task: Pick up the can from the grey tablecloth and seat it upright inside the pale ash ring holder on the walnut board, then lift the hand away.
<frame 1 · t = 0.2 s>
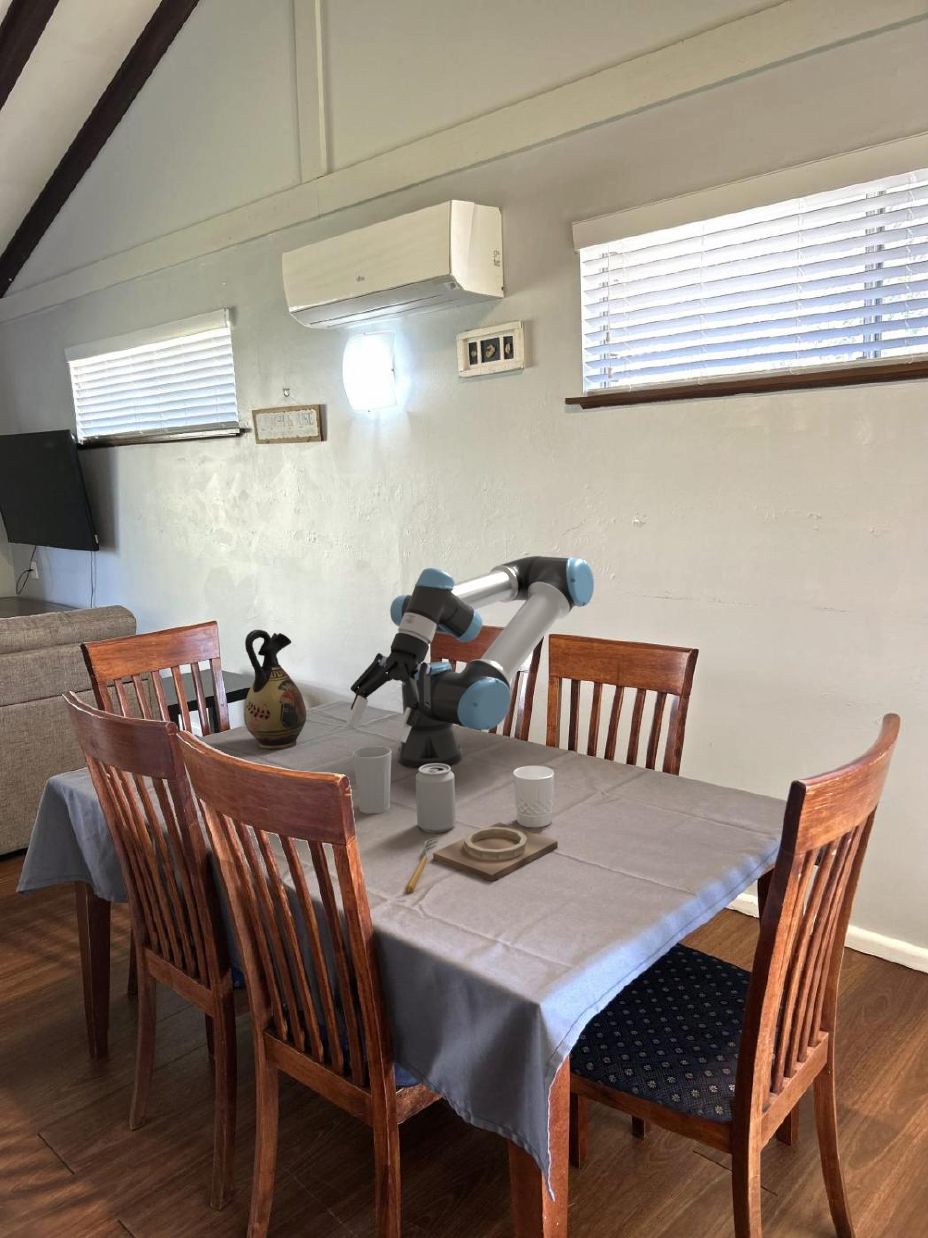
hand: (375, 733, 187), 16 cm above the table, tool tilted 35°, fingers open, 13 cm apart
ring holder: (496, 853, 166), on the table
cup: (374, 808, 190), on the table
ceramic jug: (274, 745, 235), on the table
white cup: (534, 822, 180), on the table
fork: (422, 870, 162), on the table
can: (436, 827, 179), on the table
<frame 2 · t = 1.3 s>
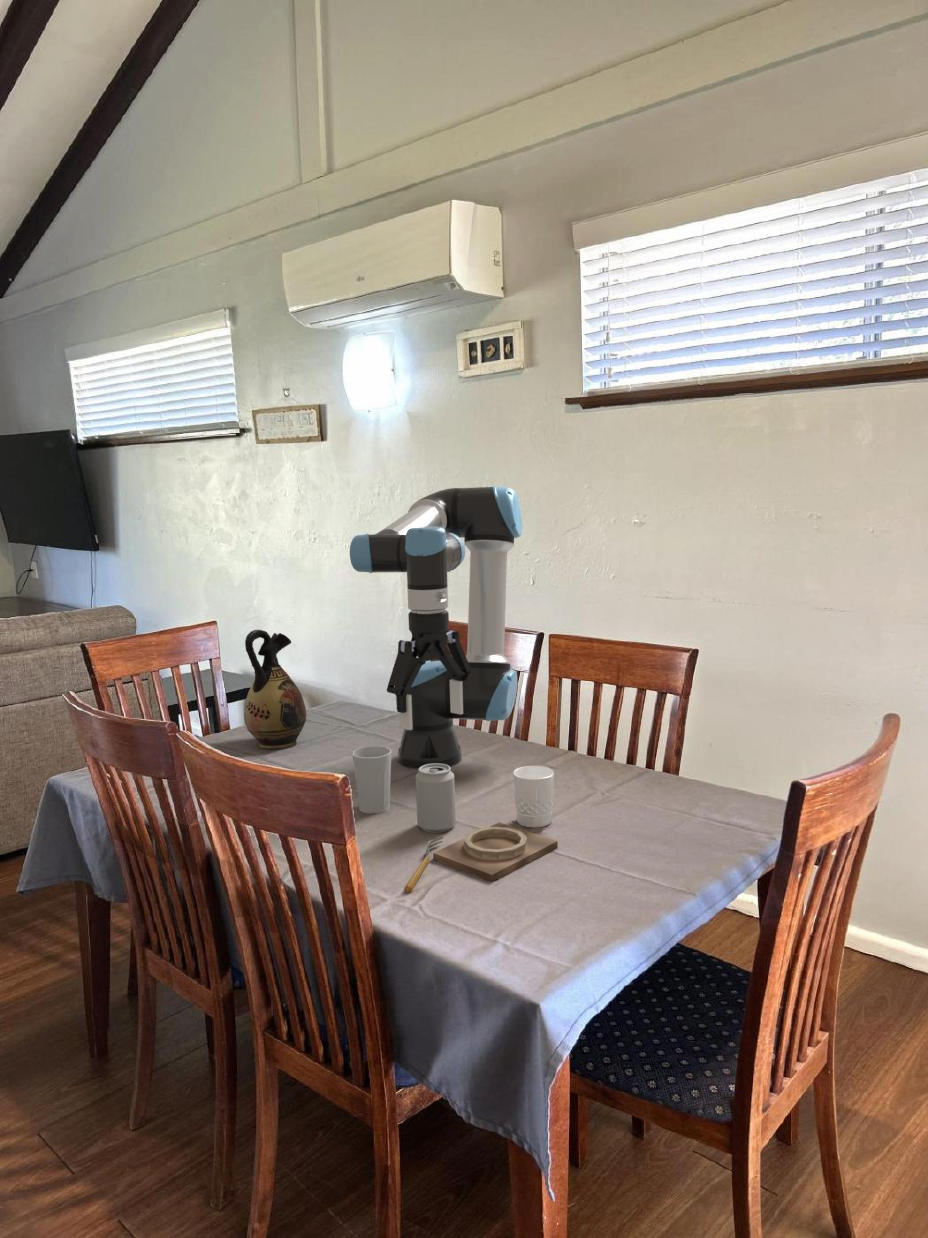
hand: (432, 720, 175), 21 cm above the table, tool pointing down, fingers open, 13 cm apart
nothing on the table moved.
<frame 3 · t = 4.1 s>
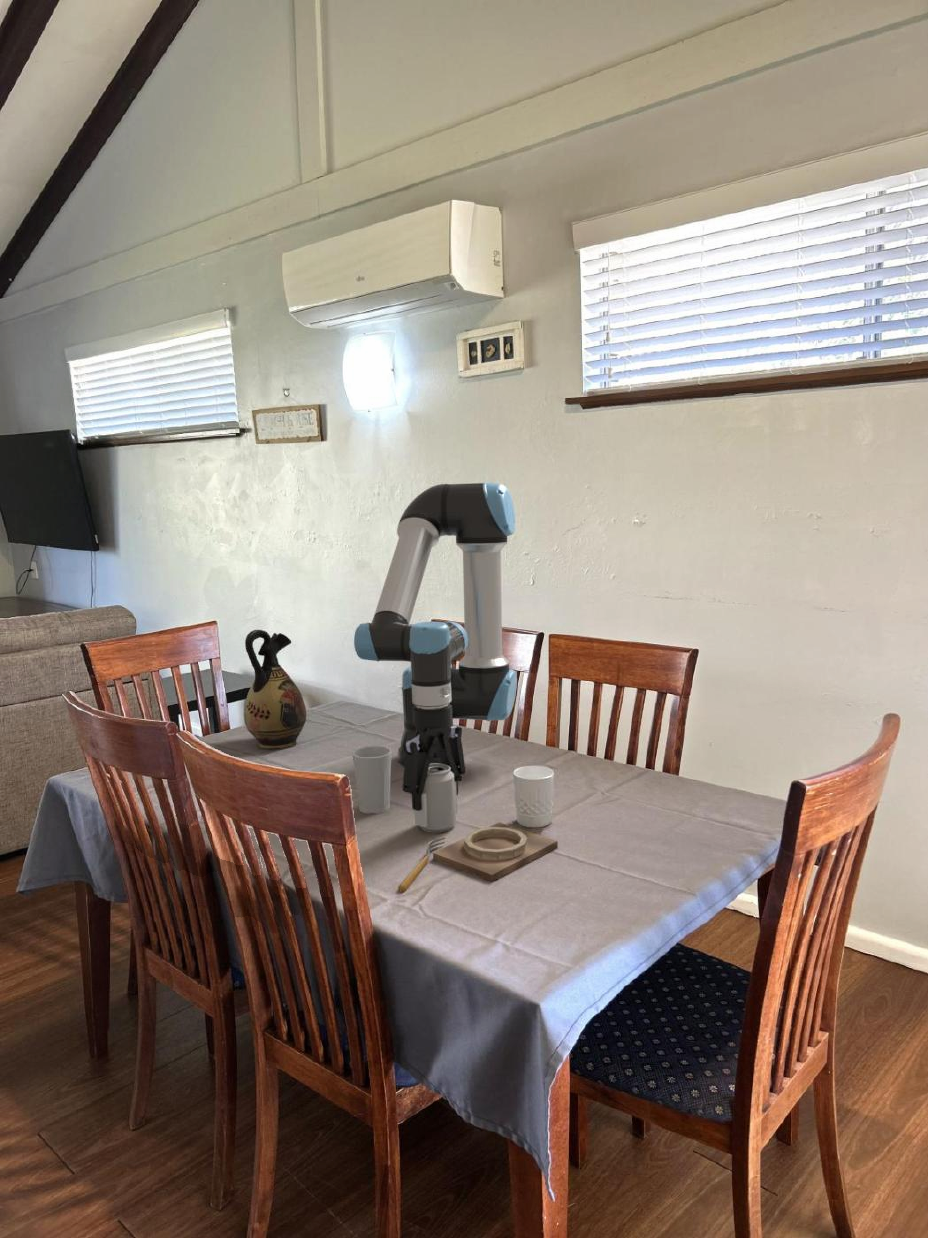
hand: (436, 818, 179), 2 cm above the table, tool pointing down, fingers closed on can, 7 cm apart
can: (436, 827, 179), on the table, touching gripper
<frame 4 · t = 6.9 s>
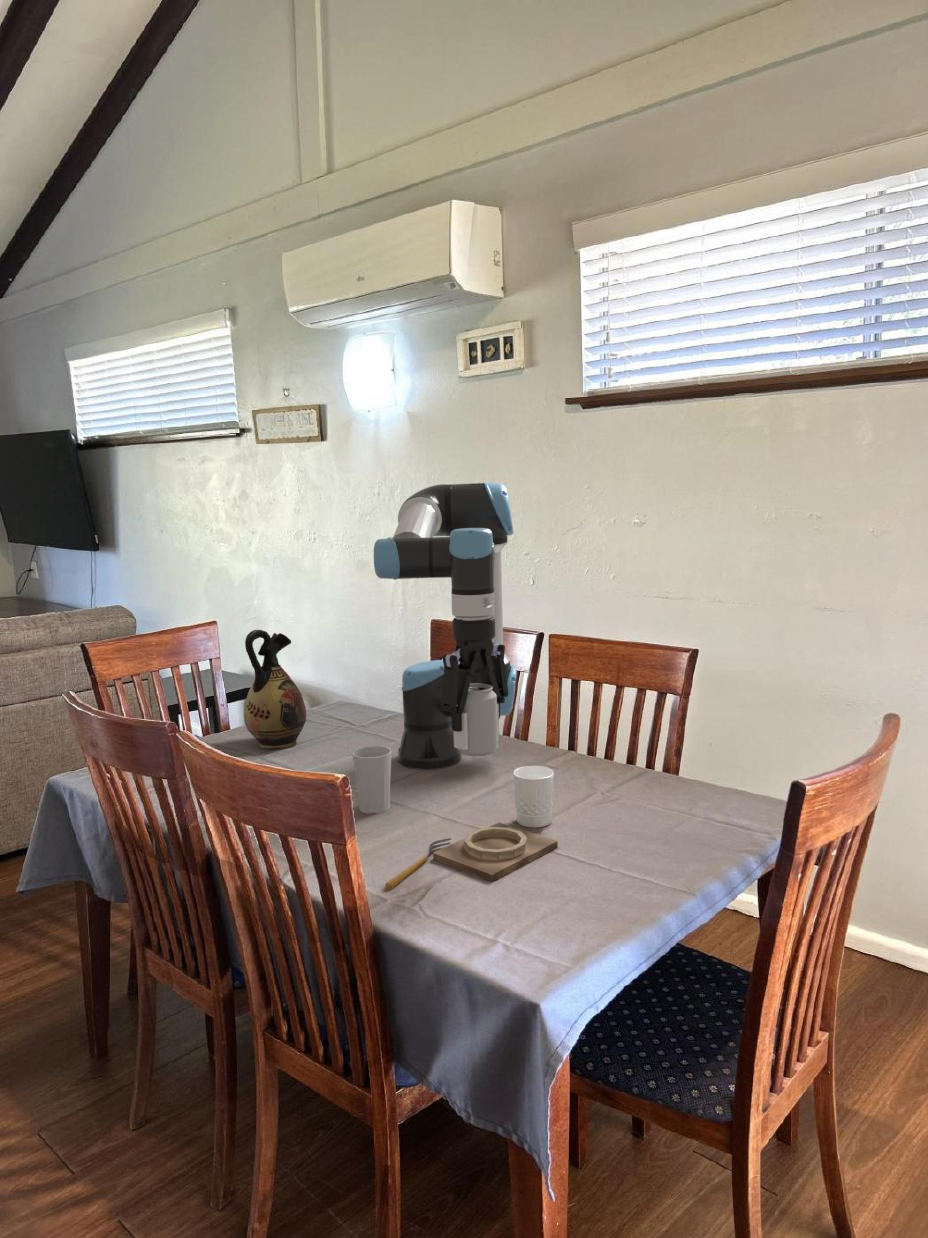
hand: (477, 742, 165), 20 cm above the table, tool pointing down, fingers closed on can, 7 cm apart
can: (477, 752, 166), point 18 cm above the table, touching gripper
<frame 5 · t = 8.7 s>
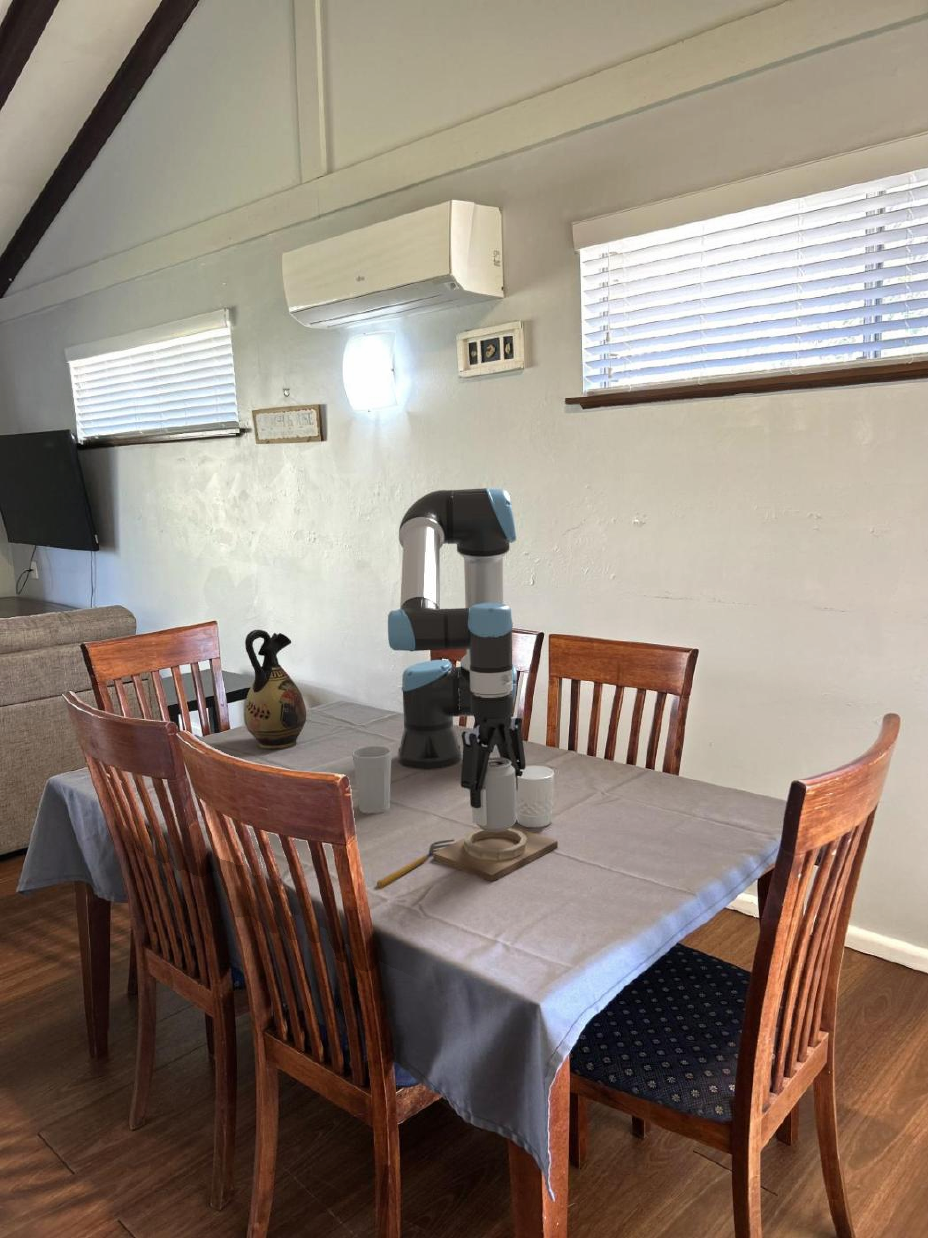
hand: (495, 816, 165), 7 cm above the table, tool pointing down, fingers closed on can, 7 cm apart
can: (495, 826, 165), point 5 cm above the table, touching gripper
when the fingers open (4 cm above the table, at t = 10.0 s): can drops 1 cm, resting on ring holder.
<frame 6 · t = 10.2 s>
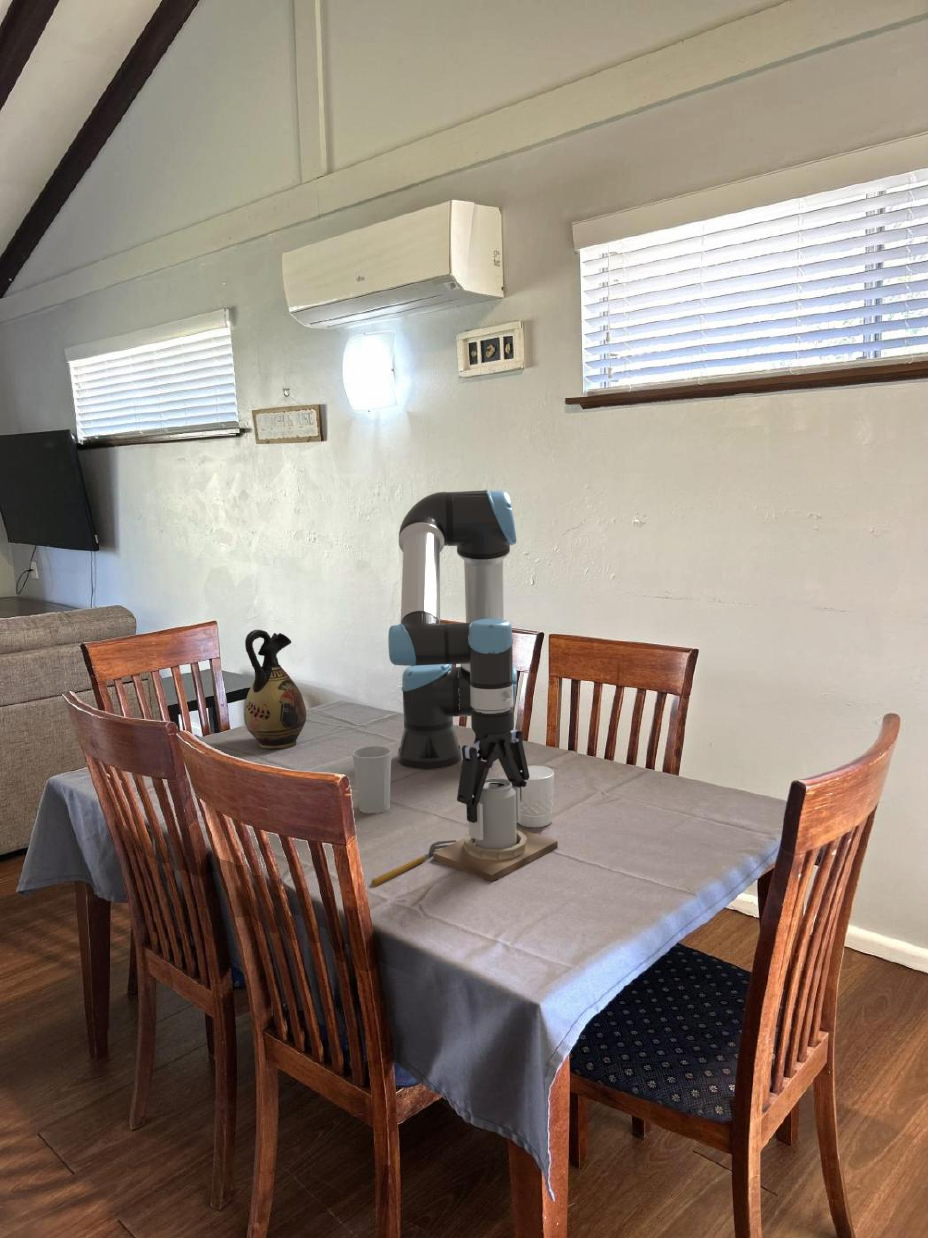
hand: (495, 829, 165), 5 cm above the table, tool pointing down, fingers open, 9 cm apart
can: (496, 847, 166), point 1 cm above the table, touching ring holder
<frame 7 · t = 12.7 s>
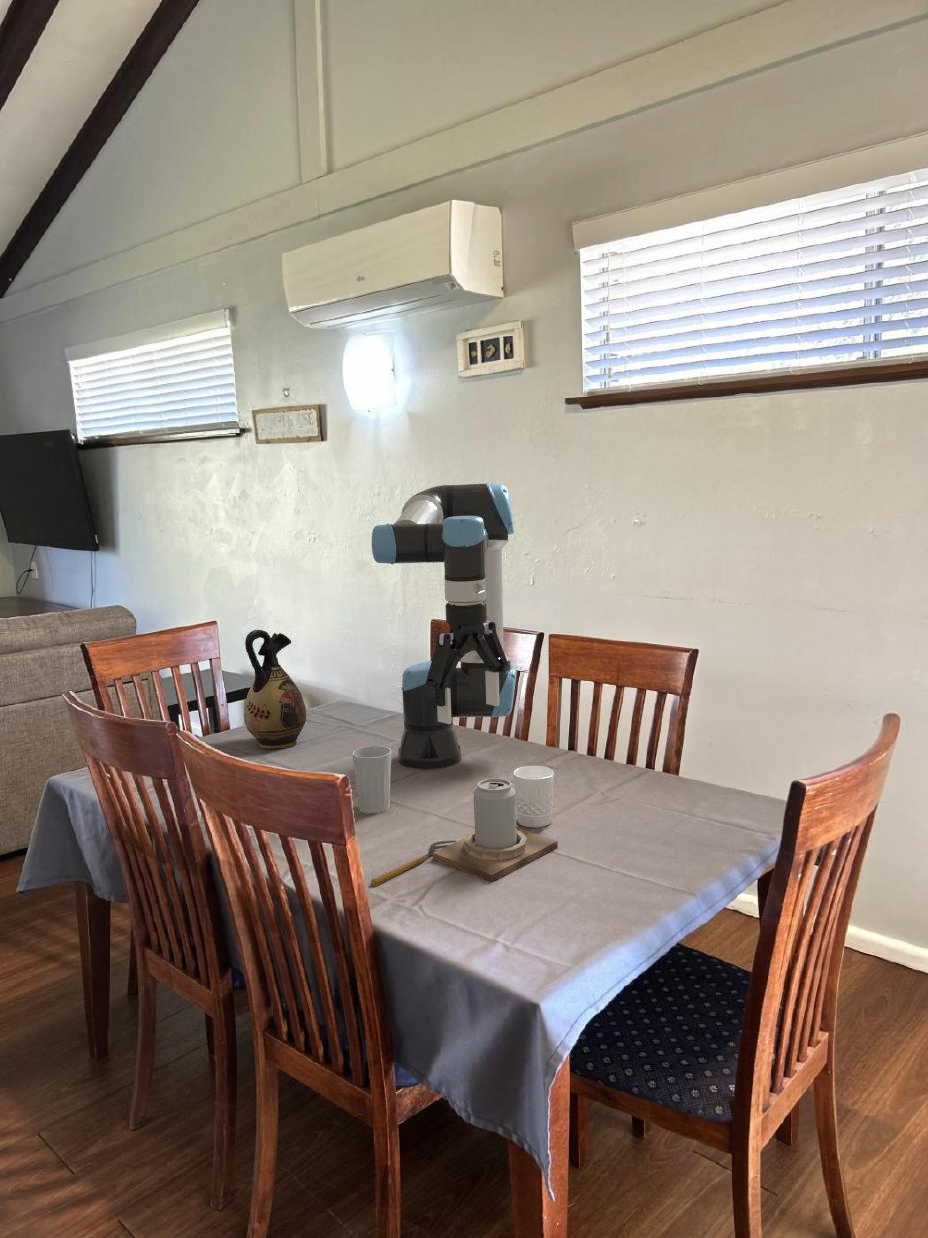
hand: (469, 713, 173), 23 cm above the table, tool pointing down, fingers open, 13 cm apart
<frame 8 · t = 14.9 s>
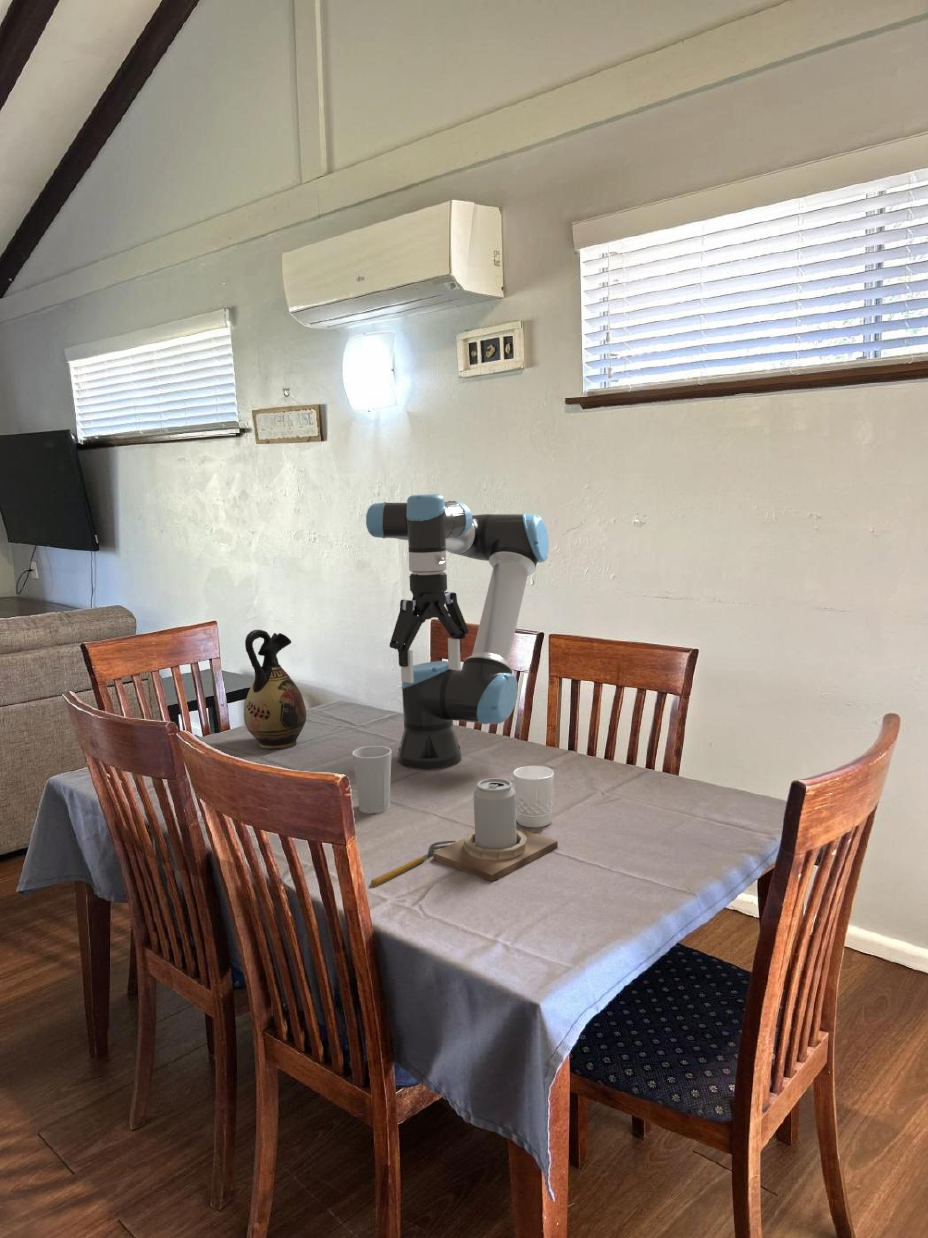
hand: (431, 675, 189), 27 cm above the table, tool pointing down, fingers open, 13 cm apart
at the end: can 0.1 cm off-centre on the ring holder, point 1.0 cm above the ring holder's base; can tilted 0°; the gripper is holding nothing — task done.
